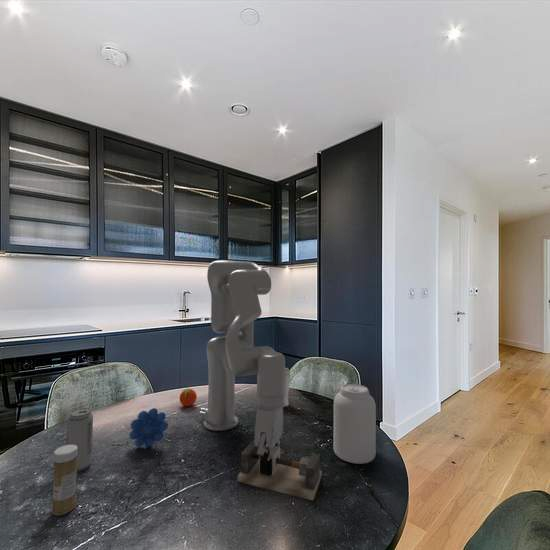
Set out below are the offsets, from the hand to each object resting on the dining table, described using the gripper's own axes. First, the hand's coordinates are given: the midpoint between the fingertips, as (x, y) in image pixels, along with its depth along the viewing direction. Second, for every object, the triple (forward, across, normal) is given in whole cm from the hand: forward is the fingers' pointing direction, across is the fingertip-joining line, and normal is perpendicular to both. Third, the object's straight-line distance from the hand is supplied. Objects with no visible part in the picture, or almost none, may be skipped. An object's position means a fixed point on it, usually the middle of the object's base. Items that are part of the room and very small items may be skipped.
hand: (269, 467), depth 83 cm
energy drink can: (+3, +15, -51) cm, 53 cm away
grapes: (+3, -1, -41) cm, 41 cm away
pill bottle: (+3, +28, -39) cm, 48 cm away
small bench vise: (+2, 0, +3) cm, 4 cm away
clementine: (+3, -32, -49) cm, 59 cm away
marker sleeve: (0, 0, 0) cm, 0 cm away
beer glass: (+3, -48, -13) cm, 50 cm away
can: (+3, -20, +20) cm, 28 cm away
